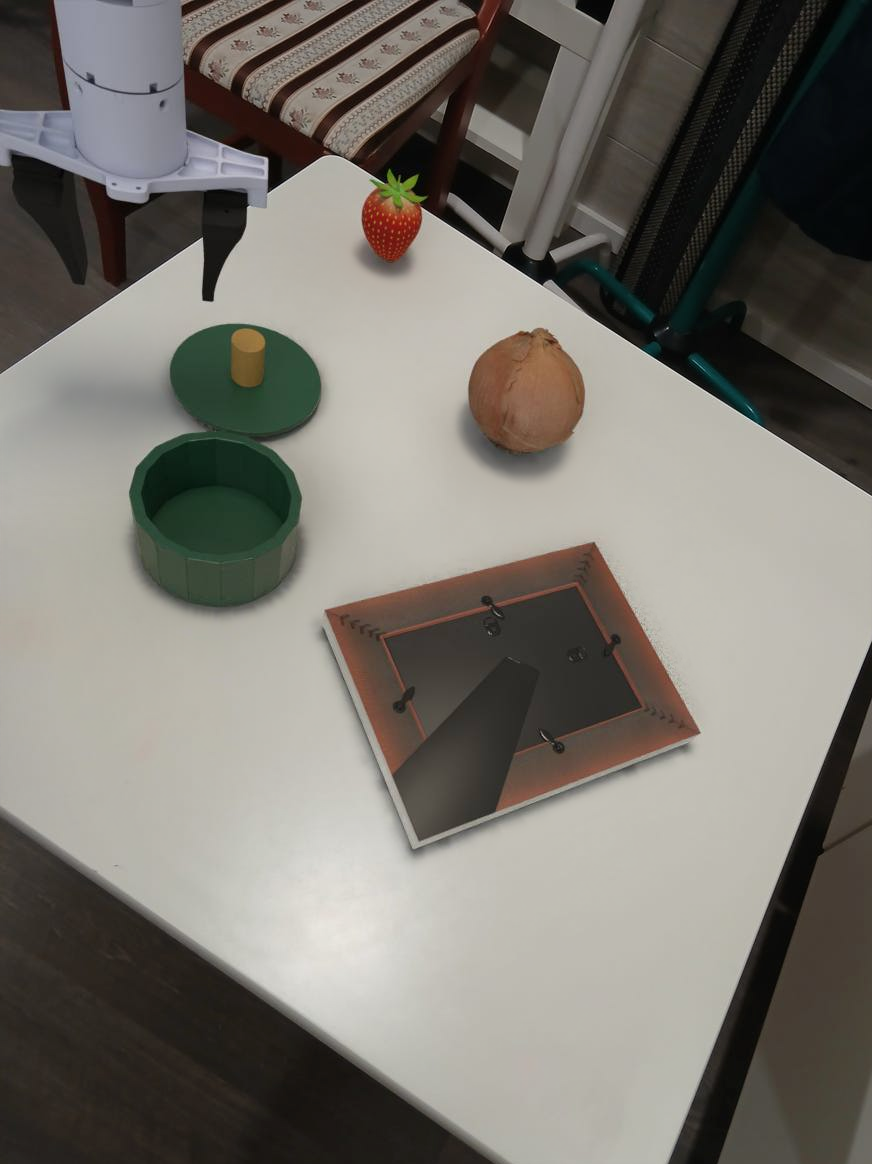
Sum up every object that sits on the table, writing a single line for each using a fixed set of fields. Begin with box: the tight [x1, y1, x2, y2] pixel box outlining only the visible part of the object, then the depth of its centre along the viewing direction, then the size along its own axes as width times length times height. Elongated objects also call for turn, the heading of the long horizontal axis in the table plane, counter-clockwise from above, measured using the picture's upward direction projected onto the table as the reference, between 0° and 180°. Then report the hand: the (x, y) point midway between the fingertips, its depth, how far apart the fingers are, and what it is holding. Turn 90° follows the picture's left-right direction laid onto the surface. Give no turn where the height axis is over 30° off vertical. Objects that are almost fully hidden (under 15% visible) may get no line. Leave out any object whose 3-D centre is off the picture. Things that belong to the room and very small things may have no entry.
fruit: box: [361, 168, 429, 263], centre depth 73 cm, size 5×5×8 cm
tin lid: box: [169, 323, 322, 438], centre depth 64 cm, size 11×11×5 cm
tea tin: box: [128, 430, 303, 608], centre depth 56 cm, size 10×10×5 cm
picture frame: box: [321, 541, 701, 850], centre depth 58 cm, size 16×2×22 cm
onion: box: [467, 327, 586, 456], centre depth 67 cm, size 10×9×10 cm
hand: (145, 282), depth 54 cm, fingers open, 7 cm apart
